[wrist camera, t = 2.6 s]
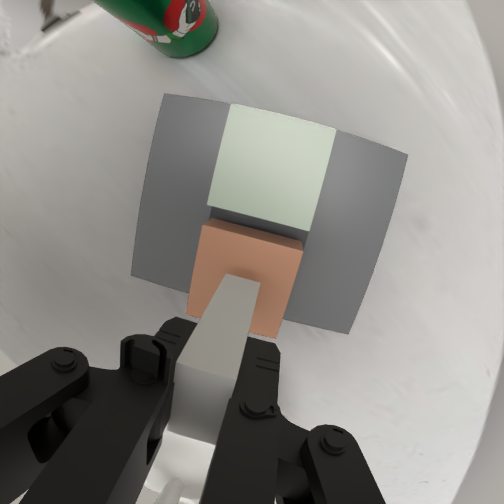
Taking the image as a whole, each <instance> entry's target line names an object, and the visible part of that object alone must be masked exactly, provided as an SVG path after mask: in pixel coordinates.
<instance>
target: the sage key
mask: <svg viewBox="0 0 504 504" xmlns="http://www.w3.org/2000/svg"><path fill="white" fill-rule="evenodd" d="M336 130H337V129H335V128H332V127H328V126H325V125H321V124H318V123H314V122H311V121H307V120H303V119H300V118H296V117H292V116H288V115H284V114H280V113H276V112H271V111H267V110H263V109H258V108H253V107H249V106H244V105H239V104H234V103H231V105H230V109H229V113H228V117H227V121H226V125H225V129H224V133H223V137H222V141H221V145H220V149H219V153H218V158H217V162H216V166H215V170H214V175H213V179H212V183H211V188H210V192H209V197H208V202H207V205H210V206H214V207H218V208H222V209H226V210H230V211H234V212H238V213H242V214H245V215H249V216H253V217H257V218H261V219H265V220H268V221H272V222H276V223H280V224H284V225H287V226H291V227H295V228H298V229H302V230H306V231H310V227H311V224H312V220H313V217H314V213H315V210H316V206H317V202H318V199H319V195H320V191H321V188H322V184H323V180H324V177H325V173H326V169H327V165H328V162H329V158H330V154H331V150H332V146H333V142H334V138H335V134H336Z"/></svg>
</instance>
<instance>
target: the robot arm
mask: <svg viewBox="0 0 504 504" xmlns="http://www.w3.org/2000/svg"><path fill="white" fill-rule="evenodd" d="M259 287H260V282H256V281H252V280H249V279H245V278H241V277H238V276H234V275H230V274H227V273H226V274H225V276H224V278H223V280H222V281H221V283H220V285H219V287H218V288H217V290H216V292H215V294H214V295H213V297H212V299H211V301H210V303H209V304H208V306H207V308H206V310H205V311H204V313H203V315H202V317H201V319H200V320H199V322H198V323H195V322H191V321H188V320H185V319H182V318H178V317H174V318H172V319H170V320H168V321H166V322H165V323H164V324H163V325H162V327H161V328H160V329H159V331H158V332H157V333H156V335H155V336H150V335H146V334H135V335H132V336H128V337H126V338H124V339H123V340H121V348H120V367H119V369H118V370H108V369H101V368H95V367H90V366H89V363H88V360H87V357H86V356H85V355H84V354H83V353H82V352H80V351H78V350H76V349H73V348H68V347H57V348H54V349H51V350H48V351H46V352H45V353H43V354H41V355H39V356H37V357H35V358H33V359H31V360H30V361H28V362H26V363H24V364H22V365H20V366H18V367H17V368H15V369H13V370H11V371H9V372H7V373H6V374H4V375H2V376H0V504H10V503H11V502H12V501H14V500H15V499H16V498H18V497H19V496H20V495H21V494H23V493H24V492H25V491H26V490H28V489H29V490H28V491H27V493H26V494H25V495H24V497H23V499H22V500H21V501H20V503H19V504H135V503H136V501H137V498H138V496H139V494H140V492H141V489H142V487H143V485H144V483H145V480H146V478H147V476H148V474H149V471H150V469H151V467H152V465H153V462H154V460H155V458H156V456H157V453H158V451H159V449H160V447H161V444H162V438H163V432H164V430H165V428H166V426H167V423H168V427H167V431H170V432H173V433H176V434H179V435H183V436H186V437H189V438H192V439H195V440H199V441H202V442H206V443H209V444H213V445H216V446H215V449H214V452H213V456H212V459H211V462H210V466H209V469H208V473H207V477H206V480H205V484H204V487H203V491H202V494H201V497H200V501H199V504H274V502H275V498H276V503H277V504H386V503H385V501H384V499H383V497H382V494H381V492H380V490H379V488H378V486H377V484H376V482H375V479H374V477H373V475H372V473H371V471H370V469H369V467H368V464H367V462H366V460H365V458H364V456H363V454H362V452H361V450H360V447H359V445H358V443H357V441H356V440H355V438H354V437H353V436H352V434H350V433H349V432H347V431H346V430H345V429H343V428H340V427H338V426H335V425H327V424H325V425H320V426H316V427H315V428H313V429H312V430H311V431H308V430H306V429H303V428H301V427H299V426H297V425H295V424H293V423H291V422H290V421H288V420H287V419H286V418H285V417H284V416H283V415H282V414H281V411H280V407H279V406H278V404H277V398H278V384H279V369H280V365H279V364H280V351H279V350H278V348H277V346H276V344H275V343H271V342H267V341H263V340H259V339H255V338H252V337H248V332H249V328H250V324H251V320H252V316H253V312H254V307H255V303H256V299H257V295H258V291H259Z"/></svg>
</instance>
